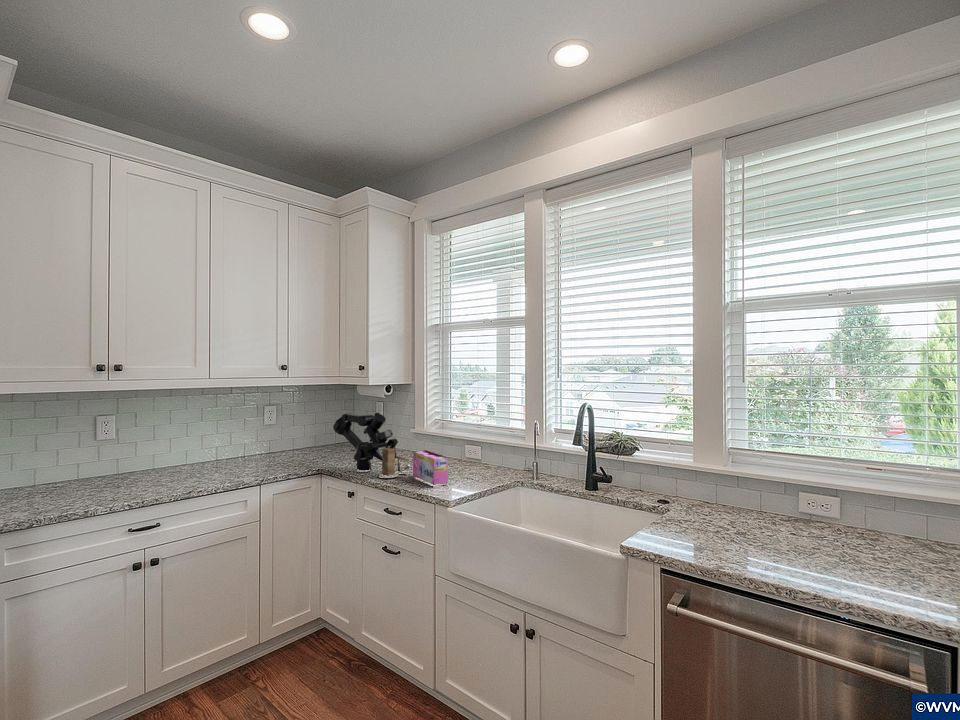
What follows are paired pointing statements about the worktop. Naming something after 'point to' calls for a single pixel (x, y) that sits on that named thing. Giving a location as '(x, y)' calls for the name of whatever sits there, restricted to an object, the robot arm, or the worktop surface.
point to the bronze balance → (406, 464)
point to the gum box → (430, 467)
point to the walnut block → (388, 461)
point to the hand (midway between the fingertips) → (389, 458)
